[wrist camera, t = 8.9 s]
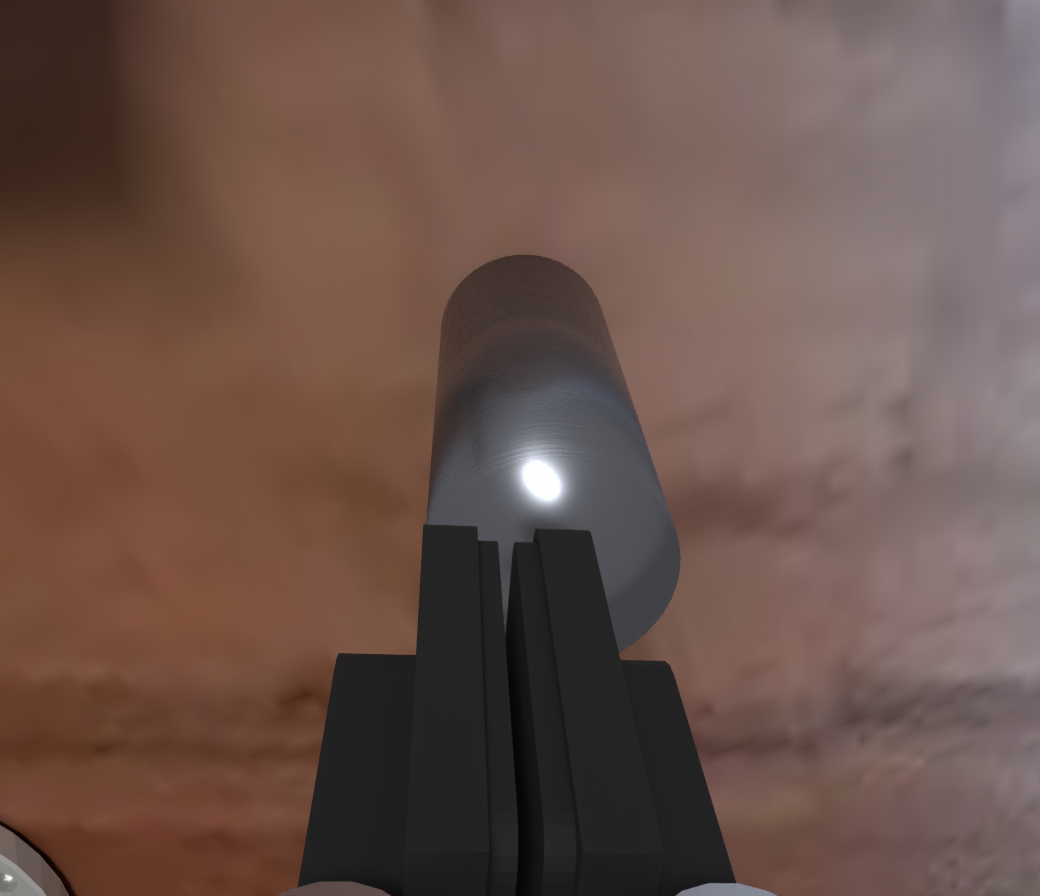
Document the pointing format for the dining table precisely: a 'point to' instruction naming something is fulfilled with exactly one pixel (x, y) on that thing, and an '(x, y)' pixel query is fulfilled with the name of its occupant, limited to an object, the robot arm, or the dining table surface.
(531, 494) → the pin
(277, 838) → the dining table surface
